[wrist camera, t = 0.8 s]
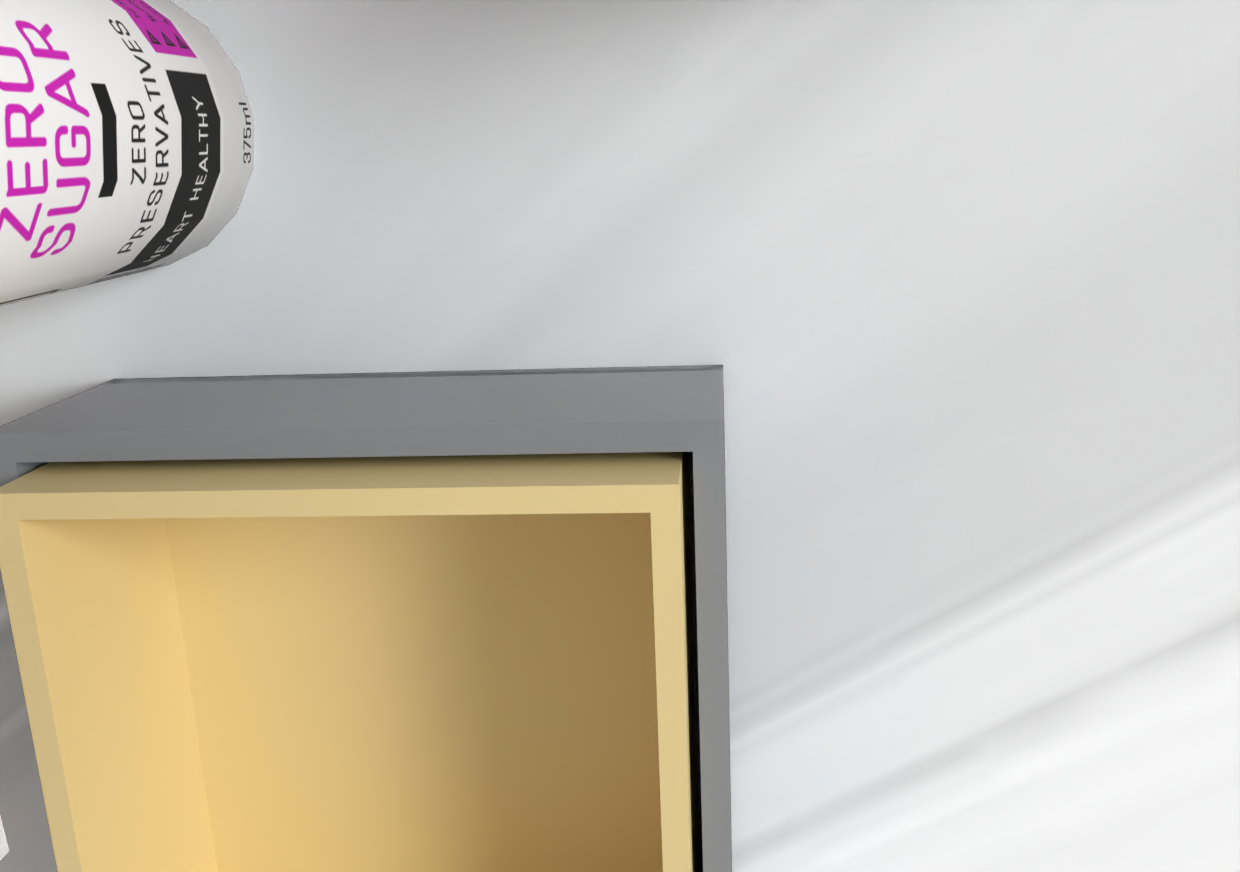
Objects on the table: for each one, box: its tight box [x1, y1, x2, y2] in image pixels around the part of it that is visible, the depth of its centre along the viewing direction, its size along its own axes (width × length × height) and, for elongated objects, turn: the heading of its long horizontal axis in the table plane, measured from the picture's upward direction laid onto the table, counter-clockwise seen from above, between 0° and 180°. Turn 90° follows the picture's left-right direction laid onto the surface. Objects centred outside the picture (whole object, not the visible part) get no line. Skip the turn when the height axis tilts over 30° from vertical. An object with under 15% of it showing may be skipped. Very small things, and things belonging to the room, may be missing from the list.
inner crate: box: [0, 452, 699, 872], centre depth 34 cm, size 17×17×8 cm
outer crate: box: [0, 365, 732, 872], centre depth 35 cm, size 20×20×7 cm
